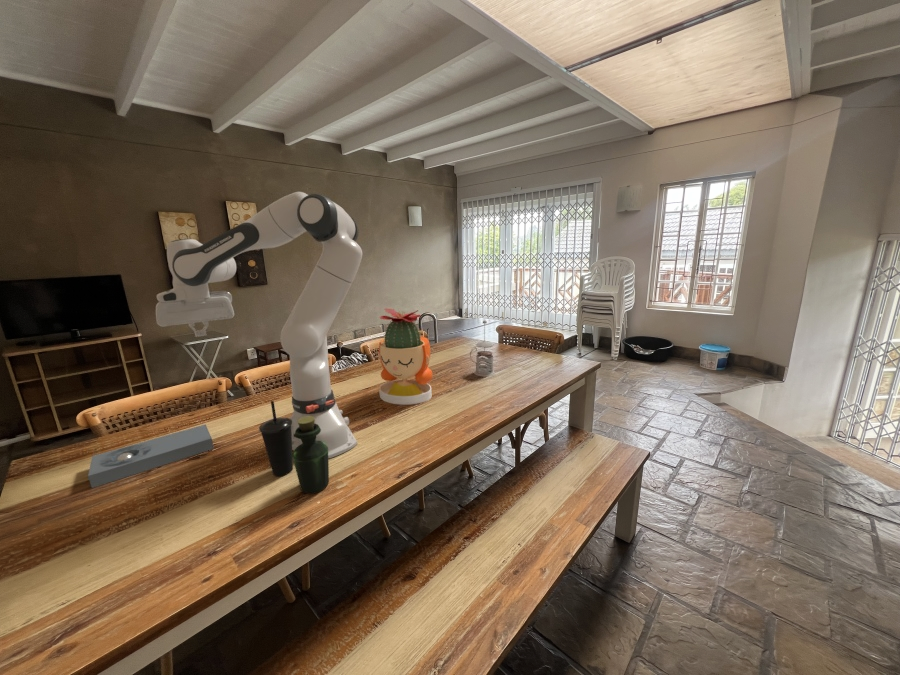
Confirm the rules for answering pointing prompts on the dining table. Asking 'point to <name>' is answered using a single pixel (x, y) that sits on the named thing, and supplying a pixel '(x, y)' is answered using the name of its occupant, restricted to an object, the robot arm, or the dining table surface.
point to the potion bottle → (311, 457)
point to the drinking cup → (278, 443)
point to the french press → (483, 369)
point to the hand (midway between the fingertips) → (201, 335)
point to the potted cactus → (404, 361)
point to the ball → (124, 456)
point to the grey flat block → (149, 455)
